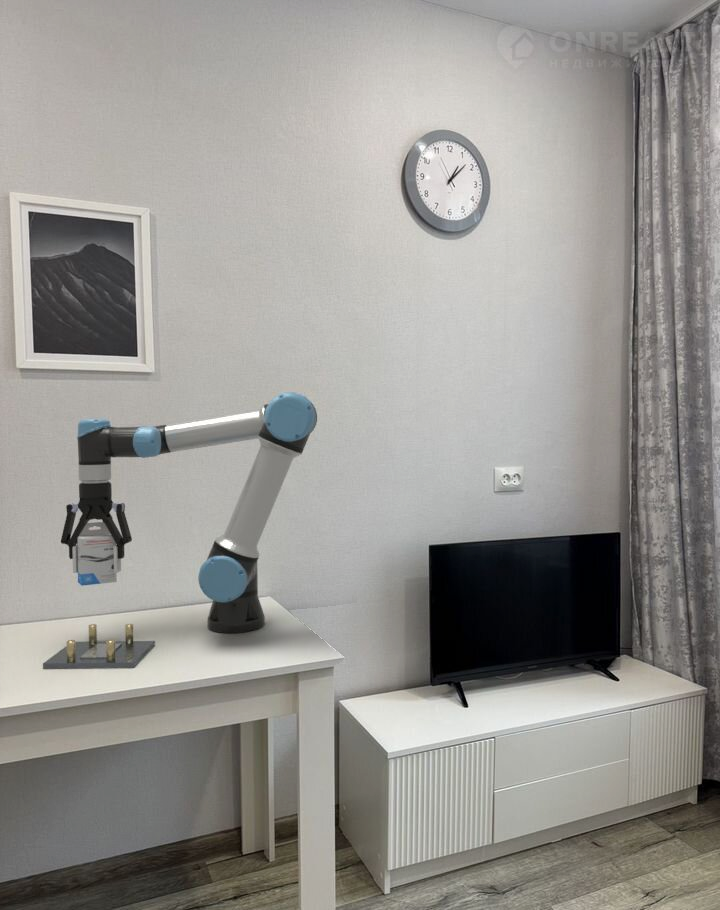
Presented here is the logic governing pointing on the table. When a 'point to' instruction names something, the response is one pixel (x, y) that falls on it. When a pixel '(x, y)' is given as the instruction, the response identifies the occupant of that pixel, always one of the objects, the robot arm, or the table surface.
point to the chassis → (100, 652)
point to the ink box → (95, 555)
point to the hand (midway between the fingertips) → (97, 571)
